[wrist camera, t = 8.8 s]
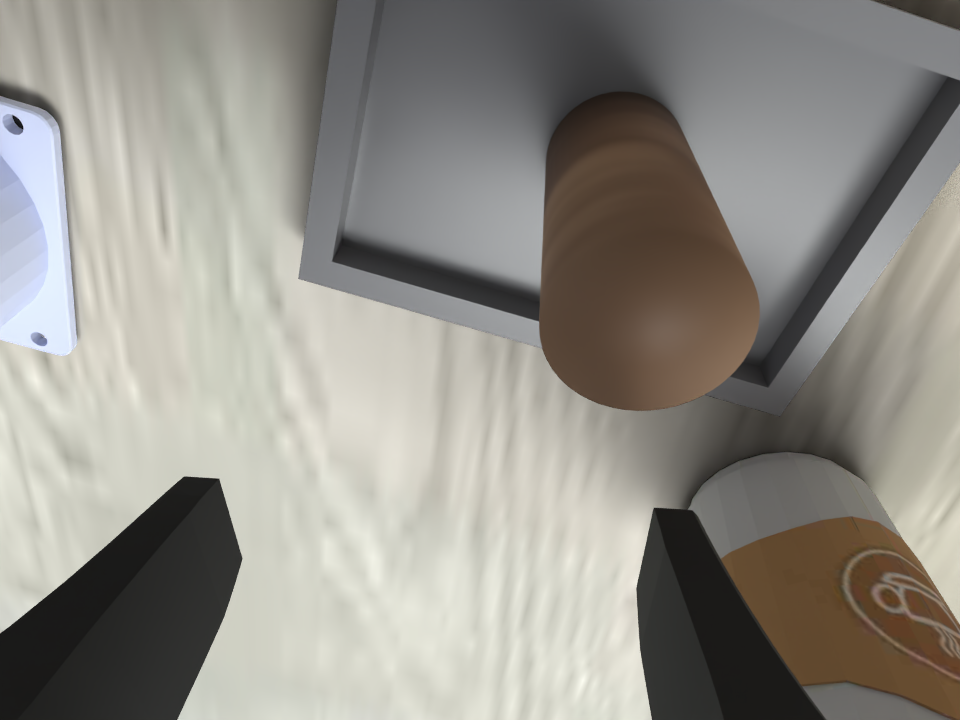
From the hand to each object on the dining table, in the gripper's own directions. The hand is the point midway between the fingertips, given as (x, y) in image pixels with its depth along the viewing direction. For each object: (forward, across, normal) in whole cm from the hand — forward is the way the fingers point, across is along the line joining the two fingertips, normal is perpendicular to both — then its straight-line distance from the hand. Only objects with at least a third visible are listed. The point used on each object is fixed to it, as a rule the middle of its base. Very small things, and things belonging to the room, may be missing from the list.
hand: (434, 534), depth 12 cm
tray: (+10, -3, -3) cm, 11 cm away
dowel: (+9, -3, -3) cm, 10 cm away
